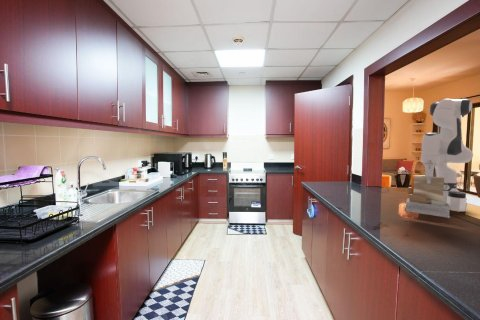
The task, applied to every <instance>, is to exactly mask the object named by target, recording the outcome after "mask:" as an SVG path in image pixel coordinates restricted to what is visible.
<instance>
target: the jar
mask: <svg viewBox="0 0 480 320" xmlns="http://www.w3.org/2000/svg"><path fill="white" fill-rule="evenodd" d="M467 200H468V199H467V193H466V192H462V191H459V192H455V191H449V192H448V196H447V204H449V207H450V211H455V212H467V210H466V209H467Z"/></svg>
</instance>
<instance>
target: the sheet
mask: <svg viewBox="0 0 480 320" xmlns="http://www.w3.org/2000/svg"><path fill="white" fill-rule="evenodd" d="M443 190H444V177H436V176H433V177H431V183H430V184H428V183H427V177H425V175H417V174H414V179H413V195H421V196H427V197H426V202H428V203H432V200H435V201H443Z"/></svg>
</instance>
